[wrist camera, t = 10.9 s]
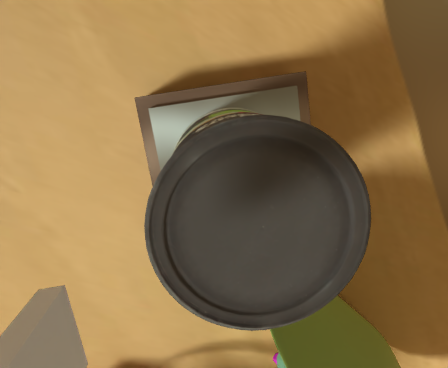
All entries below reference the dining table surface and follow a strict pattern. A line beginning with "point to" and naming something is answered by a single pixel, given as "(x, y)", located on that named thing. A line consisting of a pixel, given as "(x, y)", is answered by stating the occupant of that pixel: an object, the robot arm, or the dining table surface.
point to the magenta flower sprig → (332, 341)
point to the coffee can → (256, 220)
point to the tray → (213, 100)
